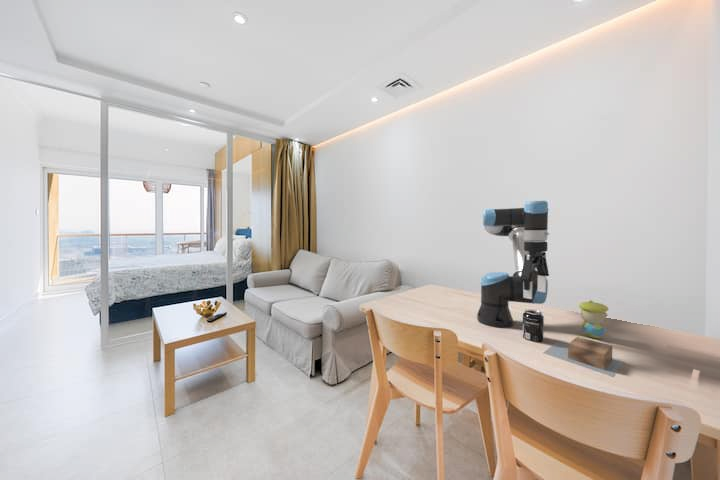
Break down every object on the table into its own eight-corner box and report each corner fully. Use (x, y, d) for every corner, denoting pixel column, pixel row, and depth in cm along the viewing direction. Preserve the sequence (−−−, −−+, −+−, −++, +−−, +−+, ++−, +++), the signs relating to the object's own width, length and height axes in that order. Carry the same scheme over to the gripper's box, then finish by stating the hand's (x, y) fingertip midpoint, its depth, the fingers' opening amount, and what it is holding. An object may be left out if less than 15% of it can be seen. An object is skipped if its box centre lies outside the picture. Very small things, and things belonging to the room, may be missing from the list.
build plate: (542, 356, 90) (542, 352, 90) (558, 344, 98) (558, 341, 98) (613, 380, 75) (613, 376, 75) (624, 365, 83) (624, 361, 83)
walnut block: (568, 358, 86) (568, 343, 86) (577, 350, 91) (577, 336, 91) (604, 370, 79) (604, 354, 78) (612, 360, 84) (612, 345, 83)
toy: (613, 342, 98) (614, 304, 98) (586, 341, 100) (587, 303, 99) (599, 334, 106) (599, 298, 105) (574, 332, 108) (574, 297, 107)
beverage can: (531, 336, 106) (531, 307, 105) (547, 343, 99) (548, 313, 99) (518, 339, 104) (518, 310, 103) (534, 346, 97) (535, 315, 97)
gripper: (533, 243, 89) (532, 303, 90) (558, 239, 104) (557, 290, 105) (510, 242, 95) (510, 299, 96) (537, 238, 110) (536, 287, 111)
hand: (534, 294), depth 101 cm, fingers open, 13 cm apart
